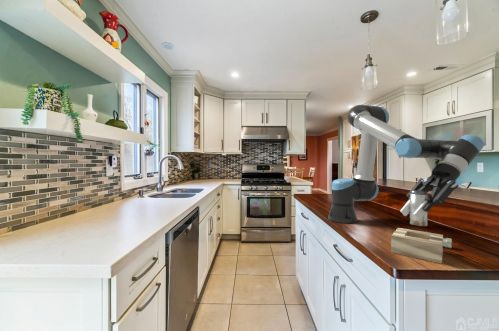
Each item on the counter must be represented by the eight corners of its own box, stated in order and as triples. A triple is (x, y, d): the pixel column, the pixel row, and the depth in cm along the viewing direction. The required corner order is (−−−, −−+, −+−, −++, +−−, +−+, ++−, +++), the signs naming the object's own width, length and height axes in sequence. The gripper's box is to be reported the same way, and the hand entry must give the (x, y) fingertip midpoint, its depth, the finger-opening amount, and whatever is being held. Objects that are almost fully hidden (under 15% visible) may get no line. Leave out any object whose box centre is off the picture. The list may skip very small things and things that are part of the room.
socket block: (397, 242, 93) (397, 227, 93) (442, 251, 84) (442, 234, 84) (391, 252, 82) (391, 235, 82) (441, 263, 73) (442, 245, 73)
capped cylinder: (410, 221, 86) (411, 190, 86) (427, 224, 83) (427, 191, 83) (409, 224, 82) (409, 191, 82) (426, 226, 79) (426, 192, 79)
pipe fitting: (426, 242, 96) (424, 244, 90) (426, 232, 96) (424, 235, 91) (451, 246, 90) (451, 250, 85) (451, 236, 90) (451, 239, 85)
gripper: (482, 177, 76) (440, 229, 73) (431, 175, 94) (396, 216, 91) (469, 161, 75) (425, 213, 73) (420, 162, 93) (384, 203, 90)
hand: (409, 215), depth 82 cm, fingers closed on capped cylinder, 5 cm apart
